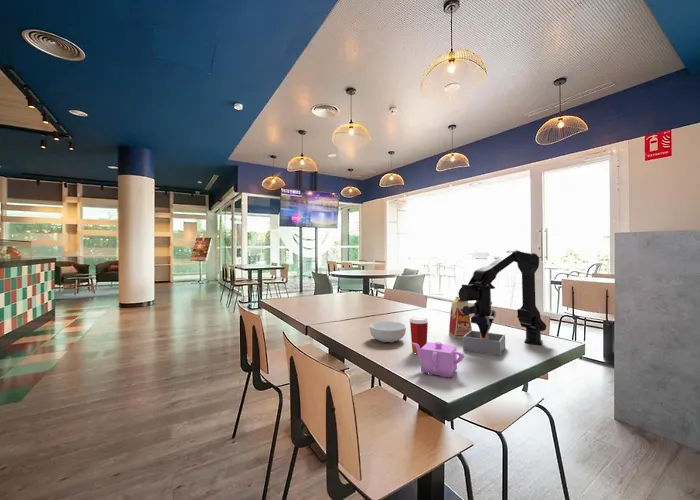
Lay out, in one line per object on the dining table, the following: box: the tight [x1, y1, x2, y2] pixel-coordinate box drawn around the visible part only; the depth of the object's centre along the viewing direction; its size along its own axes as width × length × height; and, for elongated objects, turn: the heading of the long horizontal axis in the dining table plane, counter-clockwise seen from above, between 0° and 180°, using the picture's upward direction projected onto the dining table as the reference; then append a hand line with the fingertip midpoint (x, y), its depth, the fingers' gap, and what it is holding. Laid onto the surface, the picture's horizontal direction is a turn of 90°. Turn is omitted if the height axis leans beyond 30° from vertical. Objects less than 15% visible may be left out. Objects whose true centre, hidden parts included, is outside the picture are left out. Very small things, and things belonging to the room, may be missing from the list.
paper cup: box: [408, 316, 429, 355], centre depth 123 cm, size 8×8×14 cm
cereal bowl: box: [369, 321, 407, 343], centre depth 140 cm, size 17×17×7 cm
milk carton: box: [448, 296, 473, 339], centre depth 146 cm, size 9×9×20 cm
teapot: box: [411, 341, 465, 378], centre depth 103 cm, size 18×14×10 cm
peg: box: [480, 331, 489, 340], centre depth 126 cm, size 3×3×8 cm
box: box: [462, 329, 506, 357], centre depth 126 cm, size 12×14×6 cm
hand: (484, 336), depth 126 cm, fingers closed on peg, 3 cm apart
